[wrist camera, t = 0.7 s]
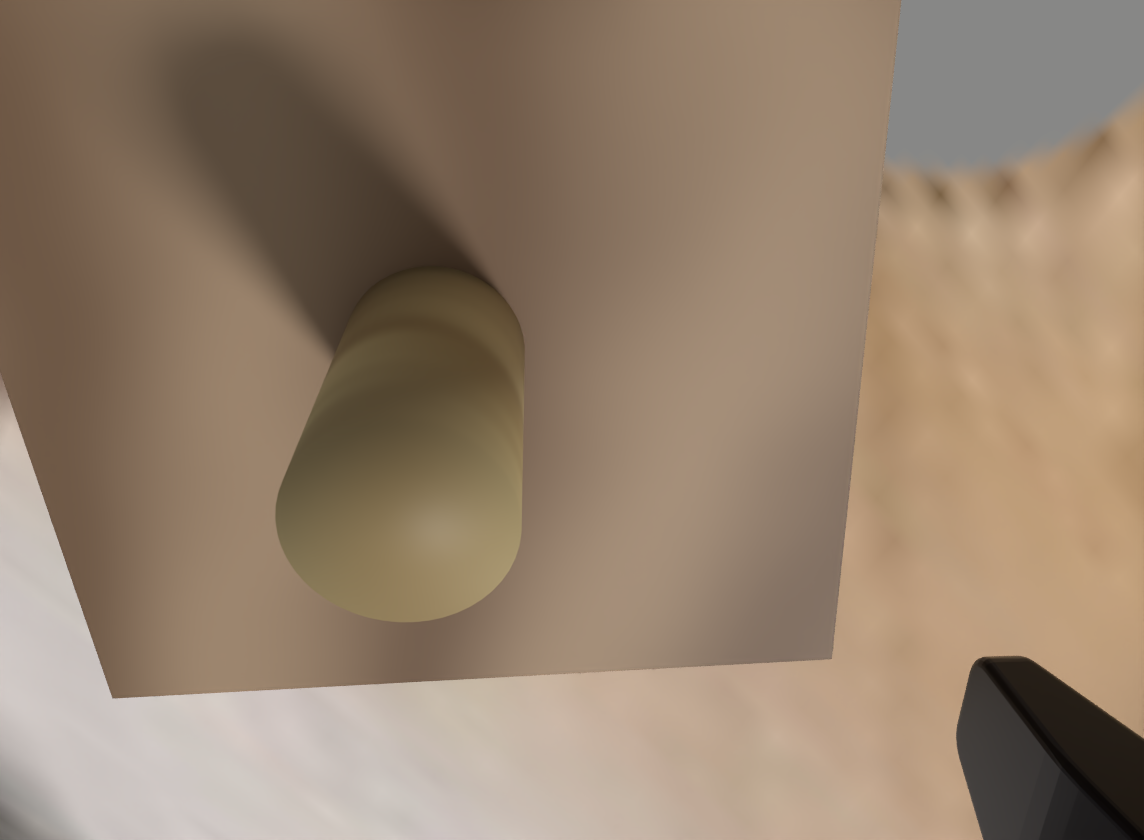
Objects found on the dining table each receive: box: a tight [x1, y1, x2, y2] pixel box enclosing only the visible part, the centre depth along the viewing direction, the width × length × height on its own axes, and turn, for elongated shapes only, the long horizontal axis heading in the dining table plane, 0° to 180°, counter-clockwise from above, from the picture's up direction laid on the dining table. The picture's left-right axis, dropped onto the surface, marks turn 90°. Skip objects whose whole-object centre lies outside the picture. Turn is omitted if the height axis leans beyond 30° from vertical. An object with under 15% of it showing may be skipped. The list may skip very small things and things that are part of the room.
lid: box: [0, 0, 901, 698], centre depth 13 cm, size 13×13×6 cm
